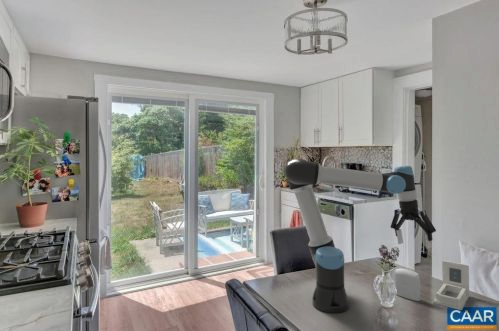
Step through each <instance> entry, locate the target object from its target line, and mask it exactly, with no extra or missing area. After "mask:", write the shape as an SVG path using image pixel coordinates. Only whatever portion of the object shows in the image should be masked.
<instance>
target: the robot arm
mask: <svg viewBox="0 0 499 331" xmlns="http://www.w3.org/2000/svg"><path fill="white" fill-rule="evenodd" d="M393 169H394V171H391V172H385V173H381V172H380V173H379V172H372V171H365V170H359V169H358V170H356V169H350V168H343V167H342V168H341V167H335V166H333V167H332V166H326V165H325V166H323V165H321V163H319V162H313V161H310V160H307V159H303V158H298V157H297V158H292V159H290V160H288V161H287V163H285V165H284V173H283V174H284V176H285V178H286V182H287V183H288V186H289V190H290V191H291V192H293V193H294V195H295V198H296V200H297V203H298V207H299V211H300V213H301V217H302V220H303V221H304V226H305V229H306V232H307V235H308V237H309V242H308V244H307V245H308V248H309V251H310V254H311V259H312V261H313V263H314V267H315V280H316V282H315V283H316V284H315V289H314V292H313V295H312V305H313V307H314V308H315V309H316V310H319V311H321V312H325V313H328V314H329V313H330V314H340V313H343V312H346V311H348V309H350V300H349V297H348V295H347V291H346V289H345V255H344V252H343V251H342V250H341V249H340V248H337V247H336V246H335V243H334V239H333V237H332V236H330V235H329V234H328V232H327V230H326V225H325V222H324V220H323V216H322V213H321V210H320V208H319V203H318V202H317V198H316V196H315V192H314V189H313V186H317V185H319V184H322V185H330V186H337V187H345V188H354V189H359V190H369V191H372V192H384V193H390V194H395V195H397V197H398V200H399V201H398V203H399V204H398V205H399V208H396V209H394V213H393V214H394V215H393V217H392V221H391V224H390V228H391V229H393V230H394V232H395V236H396V237H397V244H398V245H401V244H403V243H404V240H403V232H402V229H401V227H402V225H403V224H404V222H405V221H413V222H416V223H417V224H418V226H419V227H420V228H421V229H422V230H423V231H424V232H425V233H424V238H425V245H426V249H428V250H429V249H432V247H433V246H432V241H433V234H434V233H436V232H437V229H436V227H435V226H434V225H433V223H432V221H431V220H430V217H428V215H427V212H426V210H425V209H423V210H419V203H418V200H417V198H418V197H417V191H416V183H415V176H414V175H415V174H414V169H413V167H412V166H411V165H400V166H396V167H394V168H393ZM400 215H401V217H400ZM399 218H400V219H399Z"/></svg>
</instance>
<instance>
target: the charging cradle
mask: <svg viewBox="0 0 499 331" xmlns="http://www.w3.org/2000/svg"><path fill="white" fill-rule="evenodd" d="M441 262H442V265H441V266H442V286H441V287H440V288H439V289H438V291H437V292H436V293H435V298H434V300H433V304H436V305H439V306H442V307H443V306H444V307H447V308H451V309H454V310H458V311H461V310H462V311H463V308H465V305H466V303H467V302H466V301H468V299H469V298H470V265H469V264H466V263H460V262H456V261H449V260H448V261H447V260H444V259H443V260H442V261H441Z"/></svg>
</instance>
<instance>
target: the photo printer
mask: <svg viewBox="0 0 499 331" xmlns="http://www.w3.org/2000/svg"><path fill="white" fill-rule="evenodd" d="M420 276H421V275H420V274H419V273H418V272H415V271H414V270H411V269H409V268H403V267H402V268H397V269H395V273H394V281H395V282H394V283H395V284H394V287H395V286H396V289H397V295H396V296H398V297H402V298H406V299H408V300H413V301H415V302H420V301H421V277H420Z"/></svg>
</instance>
